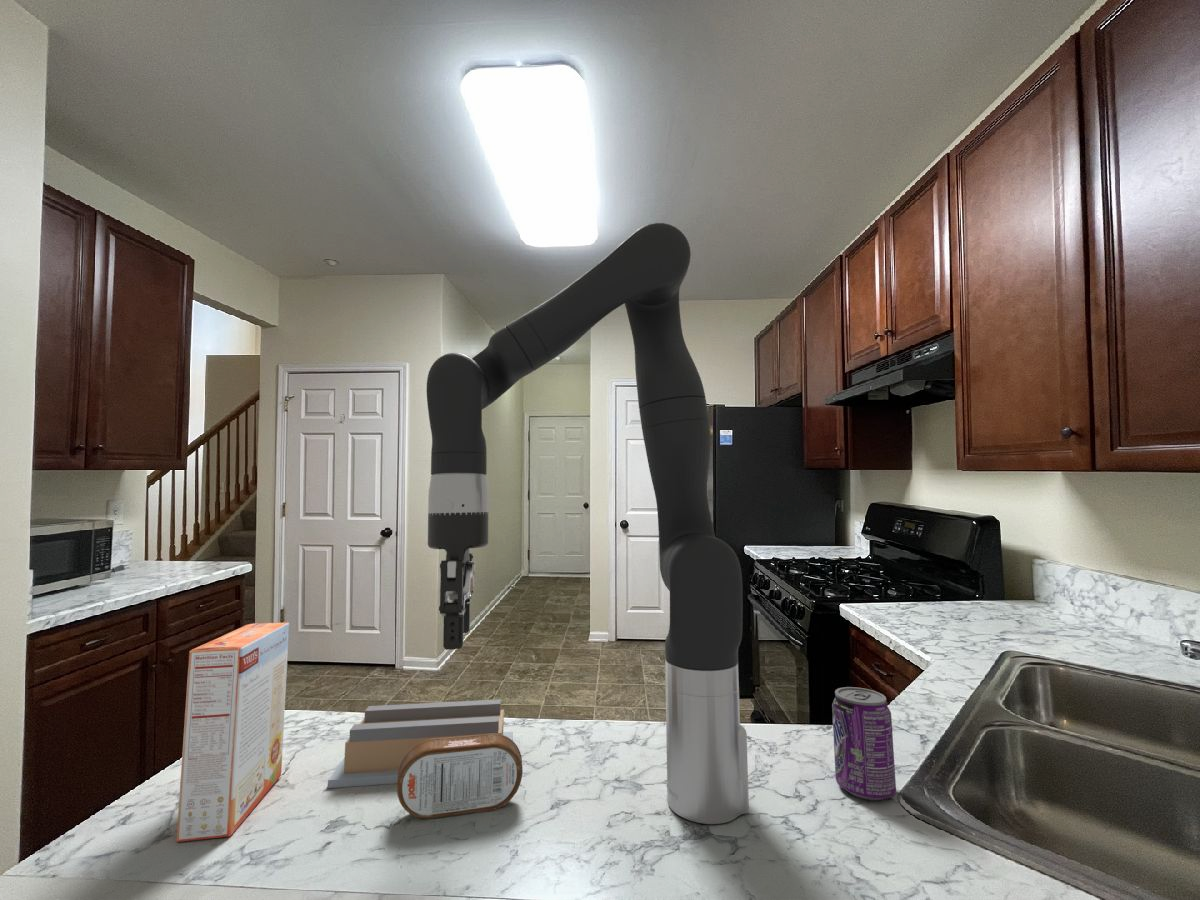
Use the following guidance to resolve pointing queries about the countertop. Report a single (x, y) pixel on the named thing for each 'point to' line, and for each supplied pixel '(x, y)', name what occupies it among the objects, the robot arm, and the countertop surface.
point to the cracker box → (232, 729)
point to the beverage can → (863, 743)
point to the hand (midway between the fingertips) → (457, 640)
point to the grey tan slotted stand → (408, 736)
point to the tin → (459, 775)
